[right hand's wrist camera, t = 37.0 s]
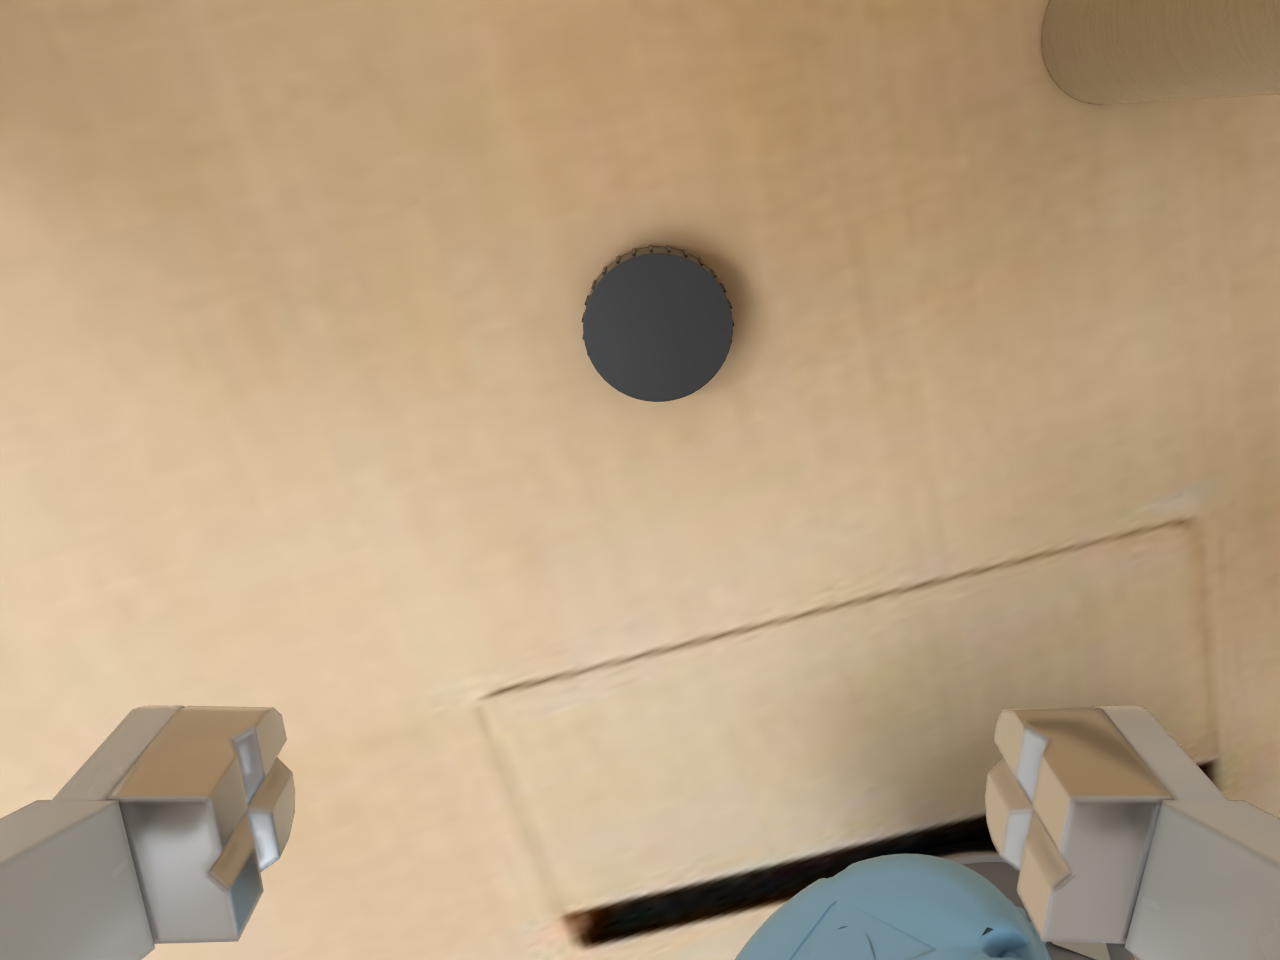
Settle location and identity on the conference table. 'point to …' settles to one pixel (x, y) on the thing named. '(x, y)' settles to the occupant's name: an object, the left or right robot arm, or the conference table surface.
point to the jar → (1162, 49)
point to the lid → (657, 324)
